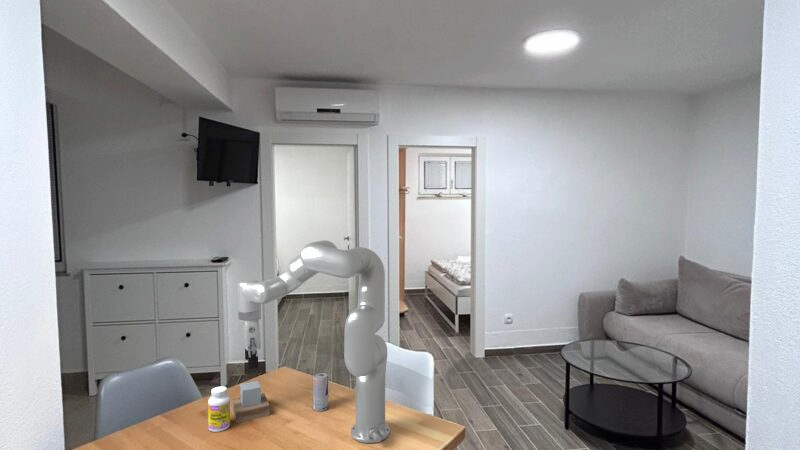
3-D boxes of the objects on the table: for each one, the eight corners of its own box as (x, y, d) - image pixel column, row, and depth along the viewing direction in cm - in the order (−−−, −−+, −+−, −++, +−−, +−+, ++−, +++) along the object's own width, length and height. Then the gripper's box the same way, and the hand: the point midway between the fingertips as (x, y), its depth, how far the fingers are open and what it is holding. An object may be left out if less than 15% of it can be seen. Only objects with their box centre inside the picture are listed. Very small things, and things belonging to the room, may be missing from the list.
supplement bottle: (206, 434, 132) (205, 394, 132) (210, 423, 139) (209, 386, 138) (229, 431, 134) (228, 392, 133) (231, 421, 140) (231, 383, 140)
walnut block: (269, 416, 144) (269, 405, 144) (236, 424, 139) (236, 413, 139) (264, 403, 154) (264, 393, 154) (232, 410, 149) (232, 399, 149)
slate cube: (260, 403, 145) (260, 387, 145) (242, 407, 142) (242, 390, 142) (258, 397, 150) (257, 380, 150) (240, 400, 148) (240, 384, 147)
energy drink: (329, 405, 152) (329, 373, 151) (325, 412, 146) (325, 379, 146) (315, 404, 152) (315, 372, 152) (311, 411, 147) (311, 378, 146)
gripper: (264, 319, 139) (266, 369, 139) (257, 309, 154) (259, 354, 155) (240, 322, 135) (242, 374, 136) (236, 311, 151) (237, 357, 152)
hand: (251, 363), depth 145 cm, fingers open, 9 cm apart
